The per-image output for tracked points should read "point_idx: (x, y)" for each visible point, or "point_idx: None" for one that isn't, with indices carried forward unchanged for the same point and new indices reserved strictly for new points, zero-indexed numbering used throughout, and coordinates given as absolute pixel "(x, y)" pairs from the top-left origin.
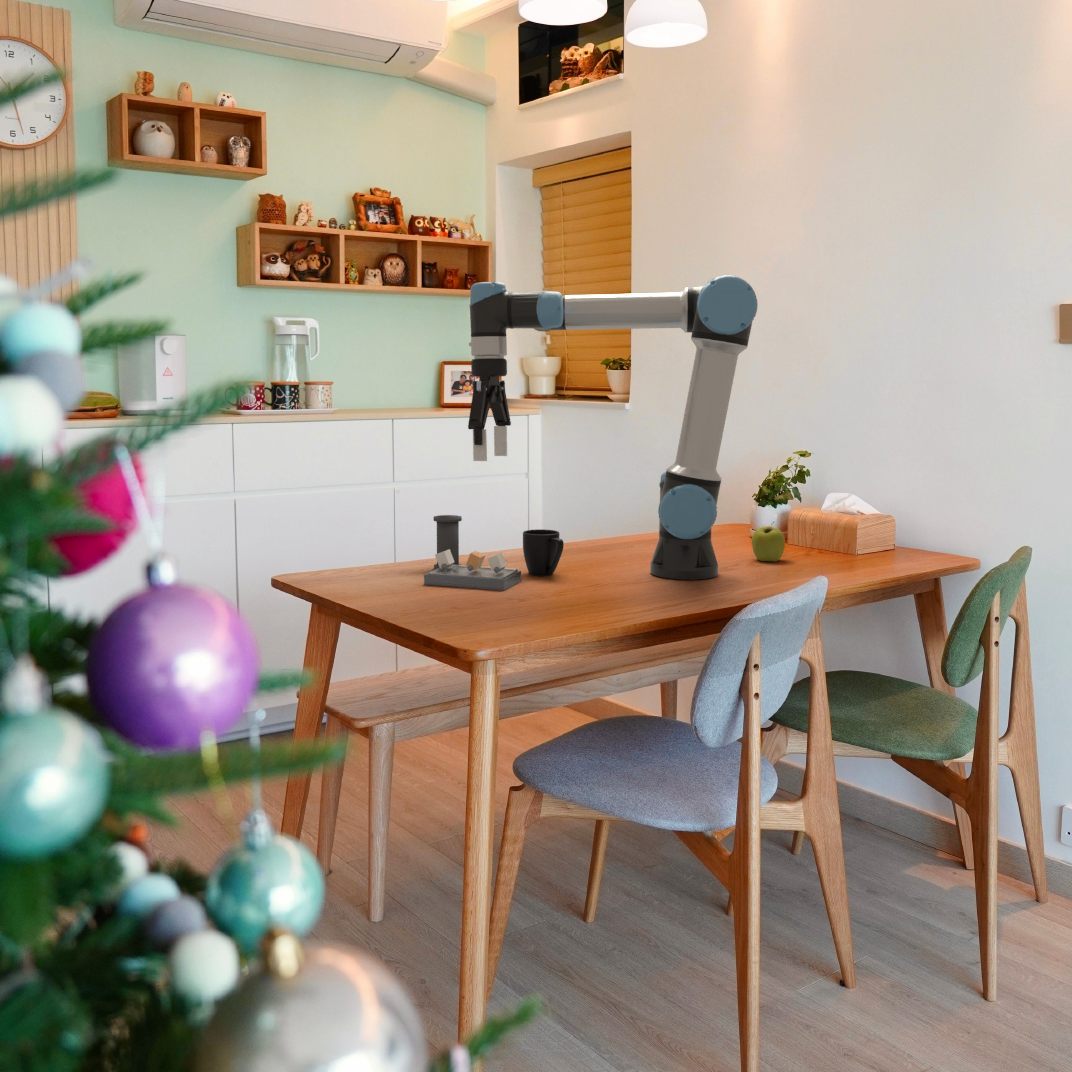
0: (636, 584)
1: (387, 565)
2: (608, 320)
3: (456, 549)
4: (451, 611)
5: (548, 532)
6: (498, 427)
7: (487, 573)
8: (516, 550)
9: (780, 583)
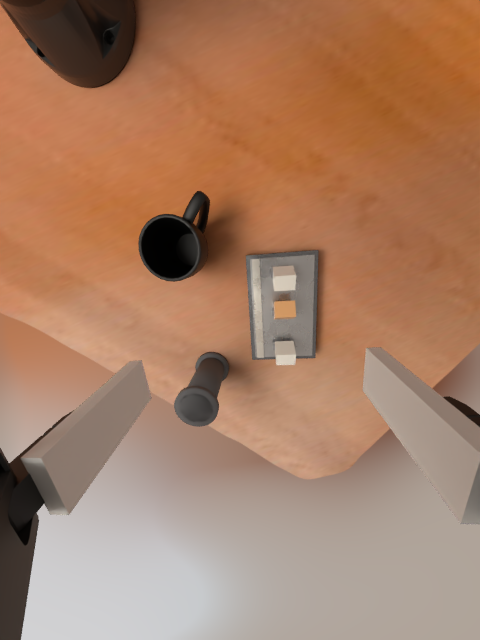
0: (200, 70)
1: (224, 428)
2: None
3: (209, 368)
4: (456, 259)
5: (143, 246)
6: (64, 486)
7: None
8: (66, 341)
9: None
